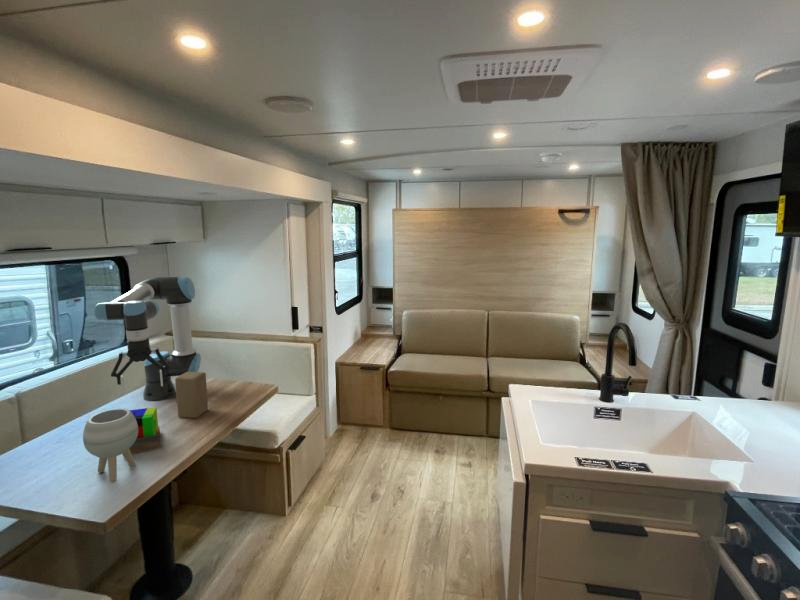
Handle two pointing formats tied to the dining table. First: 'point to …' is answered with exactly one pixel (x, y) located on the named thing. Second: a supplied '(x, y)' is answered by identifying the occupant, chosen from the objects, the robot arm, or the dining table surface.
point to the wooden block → (191, 394)
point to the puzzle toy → (146, 421)
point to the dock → (146, 443)
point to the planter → (111, 438)
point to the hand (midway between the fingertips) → (143, 388)
